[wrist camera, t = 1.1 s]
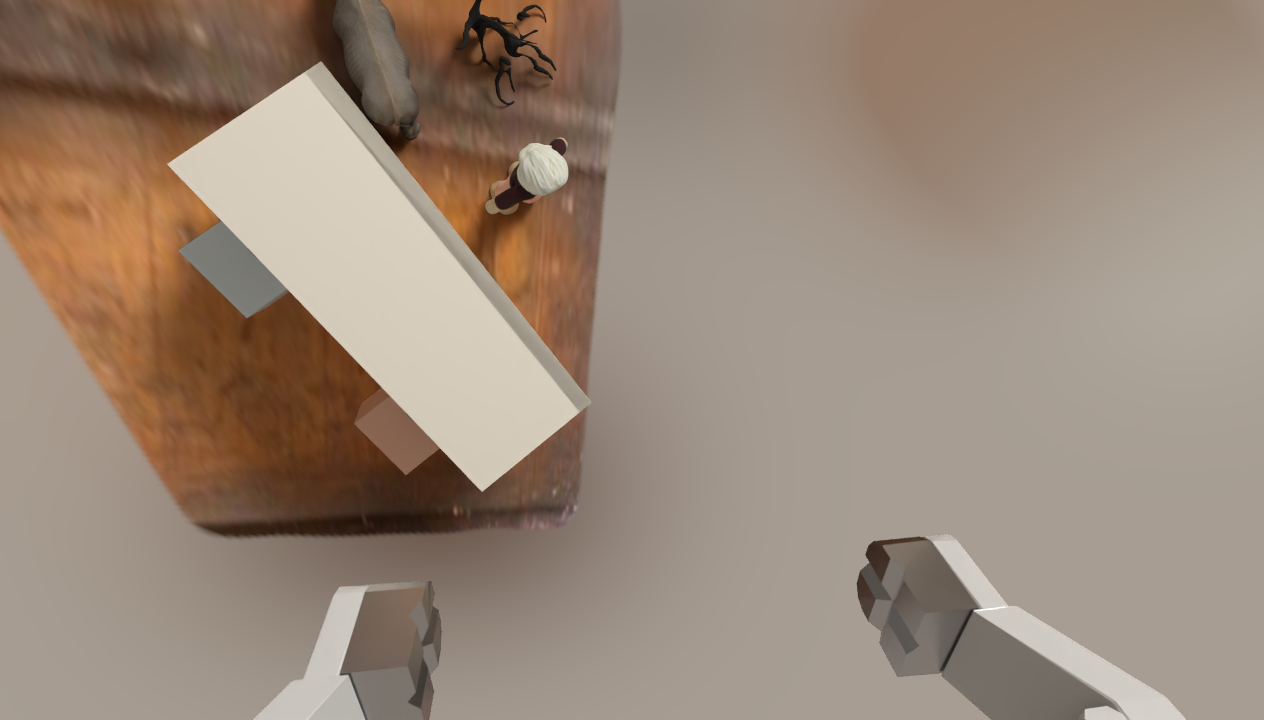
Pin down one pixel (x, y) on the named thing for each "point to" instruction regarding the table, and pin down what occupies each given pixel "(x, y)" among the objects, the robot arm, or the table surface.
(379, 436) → the button two
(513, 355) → the block
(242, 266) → the button one
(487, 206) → the grandmother figurine
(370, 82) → the rhino figurine
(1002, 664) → the robot arm
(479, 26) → the creature
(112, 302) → the table surface
